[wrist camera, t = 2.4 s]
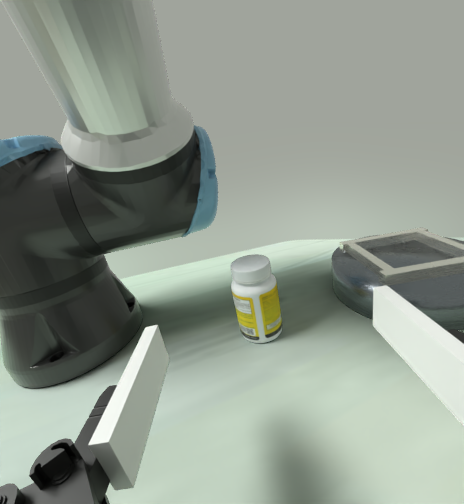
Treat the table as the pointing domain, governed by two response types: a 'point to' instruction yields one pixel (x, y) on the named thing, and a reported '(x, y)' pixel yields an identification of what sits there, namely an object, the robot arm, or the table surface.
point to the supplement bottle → (256, 298)
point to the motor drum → (403, 273)
